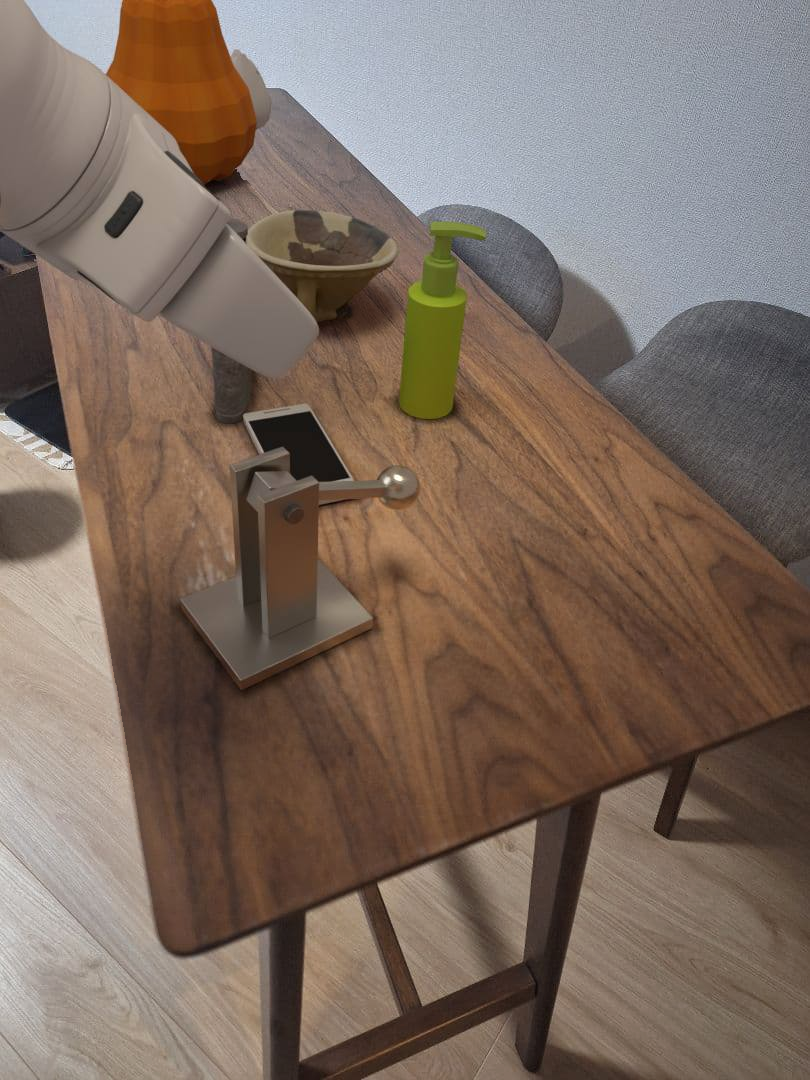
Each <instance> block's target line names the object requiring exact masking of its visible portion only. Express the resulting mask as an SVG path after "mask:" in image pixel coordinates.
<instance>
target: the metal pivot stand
mask: <svg viewBox="0 0 810 1080" xmlns="http://www.w3.org/2000/svg"><path fill="white" fill-rule="evenodd" d="M268 471H288V472H289V473H290V453H289V452H288V451H287V450H286V449H285V448H284V447H280V448H277V449H274V450H271V451H268V452H265V453H262V454H259V453H258V454H257V455H253V456H251V457H247V458H245V459H241V460H238V461H237V462H233V463H231V464H229V480H230V481H229V482H230V483H229V484H230V495H231V496H230V497H231V499H230V500H231V512H232V513H231V514H232V528H233V530H232V531H233V545H234V562H235V563H234V564H235V576H233V577H230V578H228V579H226V580H223V581H221V582H218V583H216V584H213V585H211V586H208V587H206V588H203V589H201V590H198V591H196V592H194V593H191V594H188V595H186V596H183V597H181V598H180V600H179V601H180V608H181V611H182V612H183V614H184V615H185V616H186V617H187V619H188V620H189V621H190V622H191V624H192V626H193V627H194V628H195V630H196V631H197V633H198V634H199V636H200V637H201V638H202V639H203V640H204V642H205V644H207V646H208V647H209V649H210V650H211V652H212V653H213V655H214V656H215V657H216V659H217V660H218V661H219V662H220V663H221V665H222V666H223V668H224V669H225V671H226V672H227V674H228V675H229V677H231V678H232V680H233V681H234V683H235V684H236V685H237V687H238V688H239V690H240V691H244V690H245V689H248V688H249V687H252V686H254V685H256V684H258V683H260V682H263V681H264V680H266V679H269V678H271V677H273V676H275V675H277V674H279V673H281V672H283V671H285V670H288V669H289V668H291V667H293V666H296V665H298V664H301V663H303V662H304V661H306V660H309V659H311V658H313V657H314V656H317V655H319V654H321V653H323V652H325V651H327V650H329V649H331V648H333V647H335V646H338V645H340V644H342V643H345V642H347V641H348V640H350V639H353V638H354V637H356V636H358V635H361V634H363V633H365V632H367V631H369V630H371V629H373V627H374V617H373V616H372V615H371V614H370V612H369V611H368V610H367V609H366V608H365V607H364V606H363V605H362V604H361V603H360V602H359V600H358V599H357V598H356V597H355V596H354V595H353V594H352V593H351V591H349V590H348V588H347V587H345V585H344V584H343V583H342V582H341V581H340V580H339V579H338V577H336V576H335V574H334V573H332V571H331V570H330V569H329V568H328V567H327V566H326V565H325V564H324V563H323V562H322V561H321V559H320V558H319V512H320V511H319V510H320V505H319V482H318V481H317V480H316V479H315V478H314V477H313V476H309V477H306V478H303V479H301V480H298V481H295V482H292V483H290V484H287V485H284V486H281V487H279V488H276V489H273V490H270V491H268V492H265V493H262V494H259V495H258V496H257V497H258V512H257V511H256V510H255V509H254V508H253V507H252V505H251V504H250V503H249V502H248V501H247V496H248V493H249V490H250V487H251V484H252V481H253V477H254V474H255V472H268Z"/></svg>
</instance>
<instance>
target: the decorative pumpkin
mask: <svg viewBox="0 0 810 1080" xmlns="http://www.w3.org/2000/svg"><path fill="white" fill-rule="evenodd" d="M120 6H121V7H120V12H119V22H118V23H119V24H118V25H119V26H118V34H117V35H118V36H117V39H116V46H115V50H114V55H113V59H112V61H111V63H110V64H109V67H108V69H107V71H106V73H105V74H106V75H107V76H108V77H109V78H110V79H111V80H112V81H113V82H114V83H115V84H116V85H117V86H119V87H120V88H121V89H122V90H123V91H124V92H125V93H126V94H127V95H128V96H129V97H131V98H132V99H133V100H134V101H135V102H136V103H137V104H138V105H139V106H141V107H142V108H143V109H144V110H145V111H146V112H147V113H148V114H149V115H150V116H152V117H153V118H154V119H155V120H156V121H157V122H158V123H159V124H160V125H161V126H162V127H163V128H165V129H166V130H167V131H168V132H169V133H170V134H171V135H172V136H173V137H174V139H175V140H176V142H177V144H178V146H179V149H180V152H181V153H182V154H183V156H184V157H185V159H186V161H187V162H188V164H189V166H190V168H191V170H192V171H193V173H194V174H195V175H196V176H197V177H198V179H199V180H200V181H201V182H202V183H203V184H204V186H205V185H207V184H208V183H209V182H210V181H216V182H222V181H224V180H226V178H228V177H230V176H232V174H233V172H234V171H235V170H236V169H237V168H238V167H240V166H242V164H243V162H244V160H245V159H246V157H247V156H248V154H249V153H250V151H251V150H252V148H253V147H254V146H255V145H254V144H255V138H256V137H255V136H256V132H257V131H256V125H257V120H256V115H255V111H254V108H253V104H252V100H251V96H250V92H249V89H248V87H247V85H246V84H245V82H244V81H243V79H242V77H241V76H240V74H239V73H238V71H237V70H236V68H235V67H234V65H233V62H232V60H231V54H230V51H229V49H228V47H227V44H226V41H225V37H224V35H223V32H222V27H221V23H220V19H219V14H218V11H217V7H216V5H215V4H214V1H213V0H122V1H121V5H120Z"/></svg>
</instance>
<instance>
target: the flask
mask: <svg viewBox="0 0 810 1080" xmlns="http://www.w3.org/2000/svg"><path fill="white" fill-rule="evenodd" d="M227 224H228V225H229V226H230V227H231V228H232V229H233V230H234V231H235V232H236V233H237V234H238V236H239V237H240V238H241V239H242V240H243V241H244V242H245V243H246V244H247V239H246V236H247V234H248V229H249V228H248V227H249V226H248V224H247V223H245V222H244V221H241V220H240V219H238V218H235V217H230V219H229V221H228V222H227ZM211 359H212V373H213V374H212V375H213V388H214V403H215V404H214V405H215V417H216V420H218V421H219V422H220V423H223V424H228V425H232V424H237V423H239V422H241V421H243V414H245V413H247V411H248V409H249V405H250V402H251V401H250V400H251V395H252V383H253V381H252V379H253V378H252V376H253V375H252V369H250V368H248V367H246V366H245V365H243V364H241V363H239V362H237V361H235V360H234V359H232V358H230V357H228V356H226V355H225V354H223V353H221V352H219V351H218V350H216V349H214V348H212V347H211Z"/></svg>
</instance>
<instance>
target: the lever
mask: <svg viewBox="0 0 810 1080" xmlns="http://www.w3.org/2000/svg"><path fill="white" fill-rule="evenodd" d="M295 481H296V480H295V479H294V478H293V477H292V475H291V474H290V473H289V472H288V471H268V472H255V474H254V477H253V481H252V484H251V487H250V490H249V493H248V496H247V501H248V502H249V503H250V504H251V505H252V507H253V508H254V509H255V510H256V511H257V512H258V497H257V496H258V495H259V494H262V493H265V492H268V491H270V490H273V489H276V488H279V487H281V486H284V485H287V484H290V483H292V482H295ZM420 493H421V483H420V480H419V478H418V475H416V473H415V472H414V471H413V470H412V469H410V468H409V467H408V466H404V465H392V466H388V467H387V468H385V469H384V470H382V471H381V472H380V473H379V475H378V477H377V479H365V480H363V479H362V480H354V481H335V482H319V501H324V500H340V501H343V500H342V499H345V500H359V499H360V500H361V499H378V501H379V502H380V503H381V504H382V505H383V506H384V507H385V508H387V509H389V510H393V511H402V510H406V509H408V508H410V507H411V506H413V505H414V504H415V503H416V501H417V500H418V498H419V496H420Z"/></svg>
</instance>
